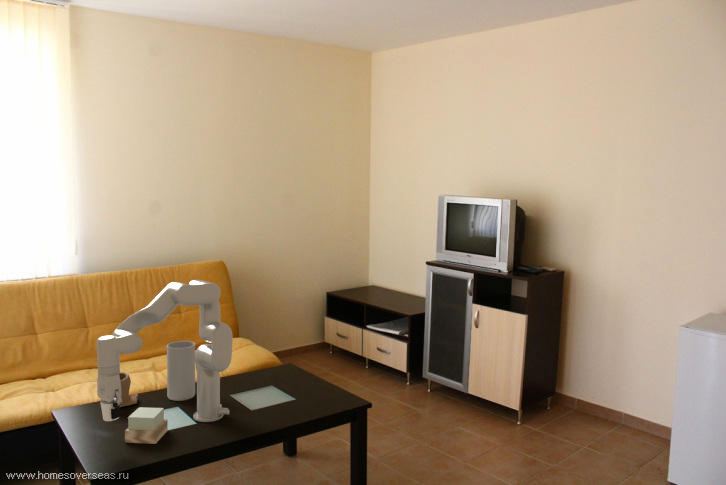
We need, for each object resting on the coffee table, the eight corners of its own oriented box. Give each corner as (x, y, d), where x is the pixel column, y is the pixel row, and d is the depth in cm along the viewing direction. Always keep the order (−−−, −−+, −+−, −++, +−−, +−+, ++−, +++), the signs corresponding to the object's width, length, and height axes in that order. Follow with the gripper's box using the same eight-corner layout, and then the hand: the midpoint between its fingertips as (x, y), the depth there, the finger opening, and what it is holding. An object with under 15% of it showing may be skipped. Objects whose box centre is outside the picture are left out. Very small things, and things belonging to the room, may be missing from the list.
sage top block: (163, 420, 230) (163, 408, 229) (154, 430, 220) (153, 418, 219) (139, 419, 230) (139, 407, 229) (128, 429, 220) (128, 417, 219)
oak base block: (167, 431, 231) (167, 419, 230) (155, 444, 219) (155, 432, 218) (138, 430, 231) (138, 418, 231) (124, 443, 219) (124, 430, 219)
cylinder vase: (191, 390, 277) (191, 339, 275) (198, 398, 266) (198, 346, 264) (164, 394, 270) (164, 343, 268) (170, 403, 260) (170, 349, 257)
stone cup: (105, 413, 246) (104, 379, 245) (101, 404, 256) (100, 372, 255) (142, 407, 254) (141, 374, 253) (137, 398, 264) (136, 367, 263)
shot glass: (113, 422, 209) (112, 404, 209) (97, 421, 211) (96, 402, 210) (125, 415, 216) (124, 397, 215) (108, 413, 217) (108, 396, 217)
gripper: (87, 366, 214) (90, 412, 216) (110, 377, 203) (112, 425, 205) (107, 361, 220) (109, 406, 222) (130, 371, 209) (132, 418, 211)
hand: (111, 415), depth 213 cm, fingers closed on shot glass, 6 cm apart
